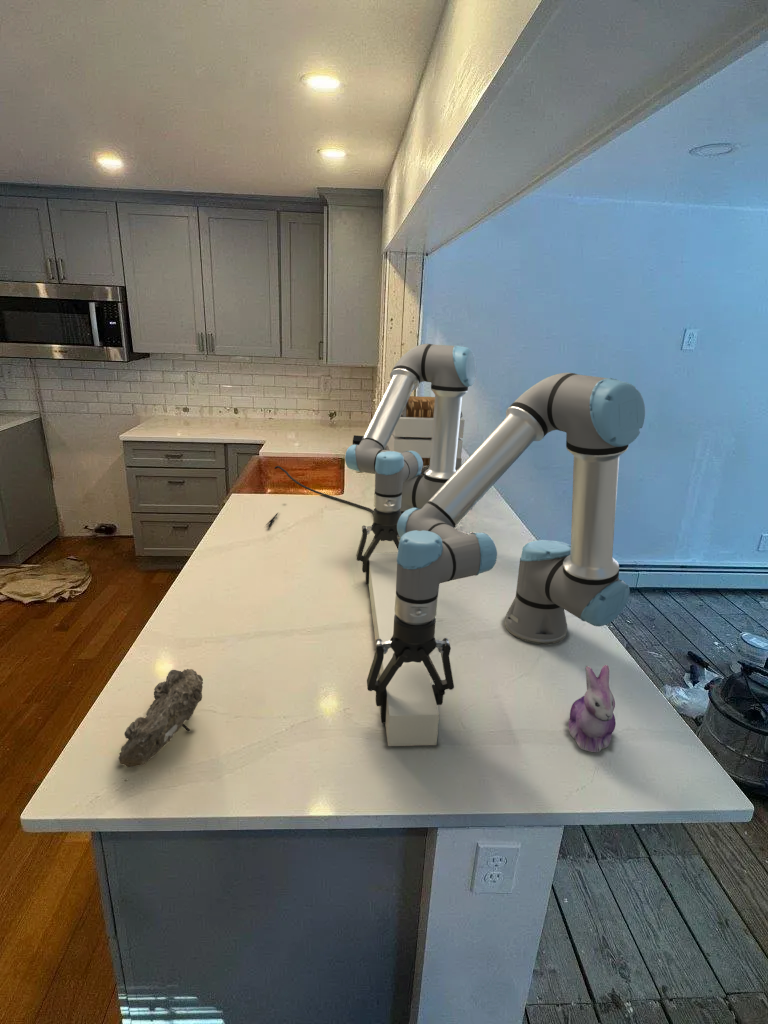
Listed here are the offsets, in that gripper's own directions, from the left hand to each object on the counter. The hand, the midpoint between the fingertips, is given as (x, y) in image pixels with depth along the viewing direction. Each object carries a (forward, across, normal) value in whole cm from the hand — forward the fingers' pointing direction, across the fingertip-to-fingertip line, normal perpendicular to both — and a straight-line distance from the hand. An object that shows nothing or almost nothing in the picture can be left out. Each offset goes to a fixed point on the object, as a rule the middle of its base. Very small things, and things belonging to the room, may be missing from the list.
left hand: (384, 581), depth 163 cm
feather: (0, -36, +54) cm, 65 cm away
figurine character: (0, -2, +158) cm, 158 cm away
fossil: (0, -44, -59) cm, 74 cm away
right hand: (0, 0, -57) cm, 57 cm away
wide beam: (0, 0, -29) cm, 29 cm away
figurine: (0, +34, -63) cm, 72 cm away
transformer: (0, +27, +116) cm, 119 cm away
